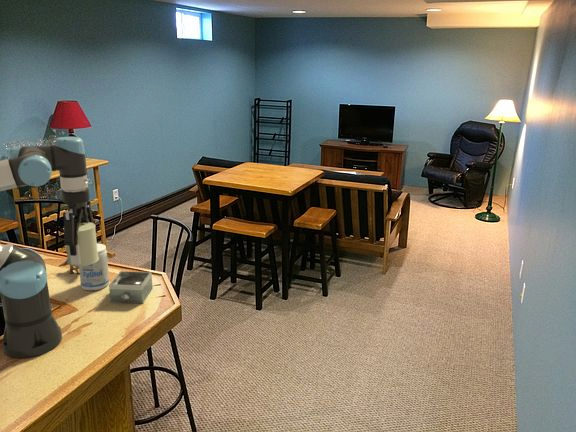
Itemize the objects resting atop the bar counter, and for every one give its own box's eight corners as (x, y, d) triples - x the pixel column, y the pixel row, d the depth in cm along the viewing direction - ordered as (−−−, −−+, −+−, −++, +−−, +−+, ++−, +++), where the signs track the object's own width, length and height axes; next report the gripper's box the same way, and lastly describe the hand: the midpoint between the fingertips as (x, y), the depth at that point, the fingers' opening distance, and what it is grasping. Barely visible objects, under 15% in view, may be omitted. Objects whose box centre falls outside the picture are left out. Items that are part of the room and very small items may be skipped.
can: (104, 256, 154) (100, 221, 151) (90, 267, 146) (86, 231, 142) (77, 254, 155) (72, 219, 151) (61, 265, 146) (56, 229, 143)
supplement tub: (83, 293, 166) (78, 255, 161) (79, 283, 174) (74, 245, 169) (112, 287, 171) (108, 249, 166) (106, 277, 178) (103, 241, 174)
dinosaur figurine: (99, 270, 184) (97, 248, 182) (91, 276, 179) (88, 253, 176) (67, 266, 187) (64, 244, 184) (58, 273, 181) (54, 250, 178)
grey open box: (141, 305, 159) (140, 288, 157) (109, 304, 159) (107, 286, 157) (152, 288, 171) (151, 272, 169) (122, 287, 171) (120, 271, 169)
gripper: (71, 199, 133) (79, 272, 140) (101, 180, 153) (107, 245, 160) (44, 198, 133) (54, 271, 140) (78, 179, 153) (85, 244, 160)
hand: (82, 257), depth 150 cm, fingers closed on can, 9 cm apart
